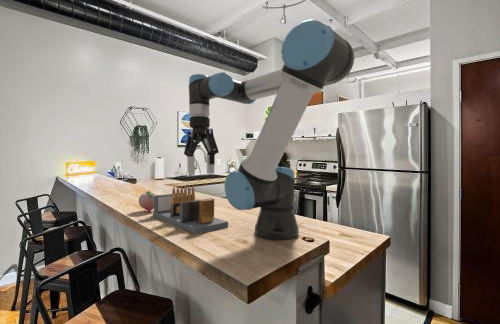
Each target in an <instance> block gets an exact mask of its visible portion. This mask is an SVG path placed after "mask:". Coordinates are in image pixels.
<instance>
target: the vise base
mask: <svg viewBox="0 0 500 324" xmlns="http://www.w3.org/2000/svg"><path fill="white" fill-rule="evenodd" d="M175 195H176V192H175ZM179 195H180V192H179ZM183 195H184V192H183ZM171 203H172V193H167V194H166V193H165V194H156V195H154V209H153V210H152V217H155V218H157V219H160V220H162V221H164V222H167V223H168V224H171V225H173V226H176V227H178V228H180V229H183V230H185V231H187V232H189V233H192V234H194V235H198V234H203V233H206V232H212V231H216V230H220V229H224V228H225V229H226V228H228V227H229V221H227V220H224V219H221V218H217V217H215V216H214V221H212V222H207V223H199V219H198V220H192V221H187V222H180V216H175V217H172V216H171Z"/></svg>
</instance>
